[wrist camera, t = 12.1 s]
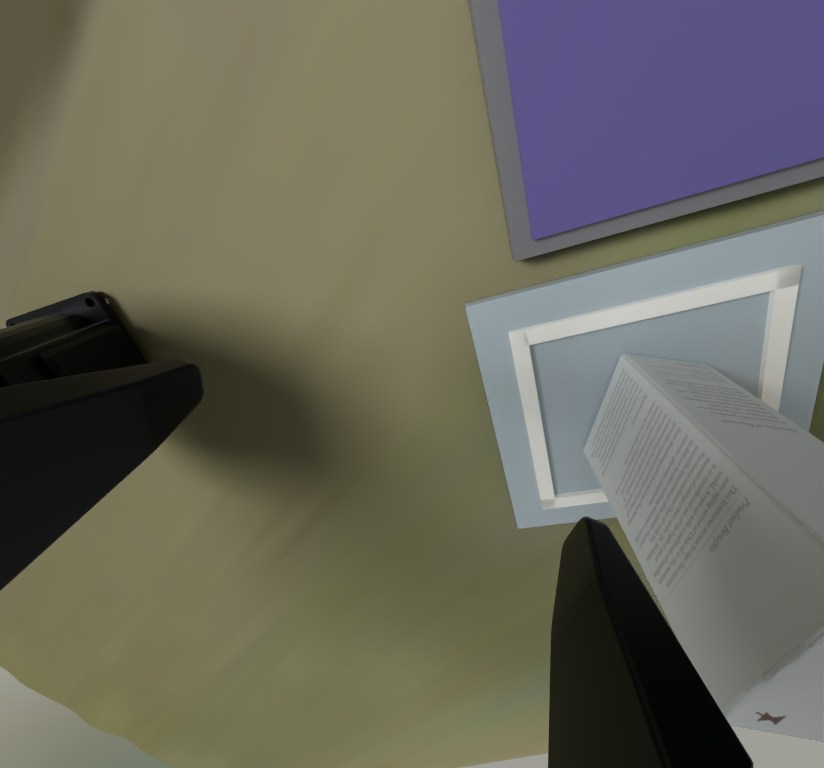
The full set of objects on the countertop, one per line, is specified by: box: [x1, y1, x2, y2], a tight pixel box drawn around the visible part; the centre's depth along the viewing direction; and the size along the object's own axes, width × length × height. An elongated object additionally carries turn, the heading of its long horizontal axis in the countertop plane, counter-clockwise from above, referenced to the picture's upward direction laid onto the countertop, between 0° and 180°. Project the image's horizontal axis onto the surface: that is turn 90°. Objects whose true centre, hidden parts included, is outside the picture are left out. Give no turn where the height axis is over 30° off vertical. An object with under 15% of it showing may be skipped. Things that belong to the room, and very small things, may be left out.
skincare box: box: [583, 353, 824, 742], centre depth 14 cm, size 6×4×12 cm
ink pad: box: [468, 0, 824, 262], centre depth 13 cm, size 12×9×1 cm
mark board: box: [465, 211, 824, 529], centre depth 19 cm, size 15×15×1 cm
